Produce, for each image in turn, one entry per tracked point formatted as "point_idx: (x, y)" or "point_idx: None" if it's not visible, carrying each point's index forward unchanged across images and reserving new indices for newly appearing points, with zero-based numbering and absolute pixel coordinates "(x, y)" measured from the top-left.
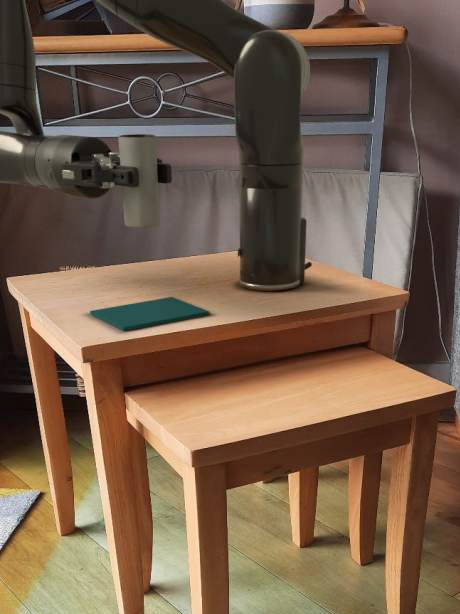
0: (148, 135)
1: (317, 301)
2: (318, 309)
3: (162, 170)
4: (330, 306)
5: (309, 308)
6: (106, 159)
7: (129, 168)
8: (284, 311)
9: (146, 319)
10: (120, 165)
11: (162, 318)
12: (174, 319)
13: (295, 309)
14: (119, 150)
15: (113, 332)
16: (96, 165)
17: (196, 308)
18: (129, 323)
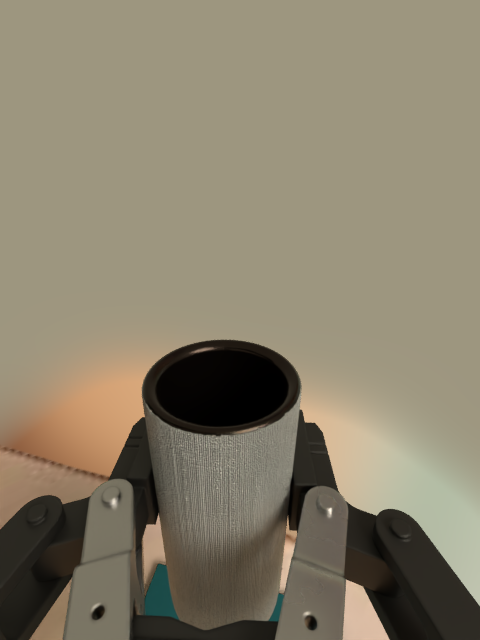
0: (155, 379)
1: (7, 488)
2: (58, 463)
3: None
4: (36, 461)
5: (56, 474)
6: (315, 565)
7: (303, 422)
8: (85, 489)
9: (274, 618)
10: (297, 474)
11: None
12: None
13: (68, 485)
14: (291, 448)
15: (356, 625)
16: (401, 517)
17: (152, 601)
18: None
